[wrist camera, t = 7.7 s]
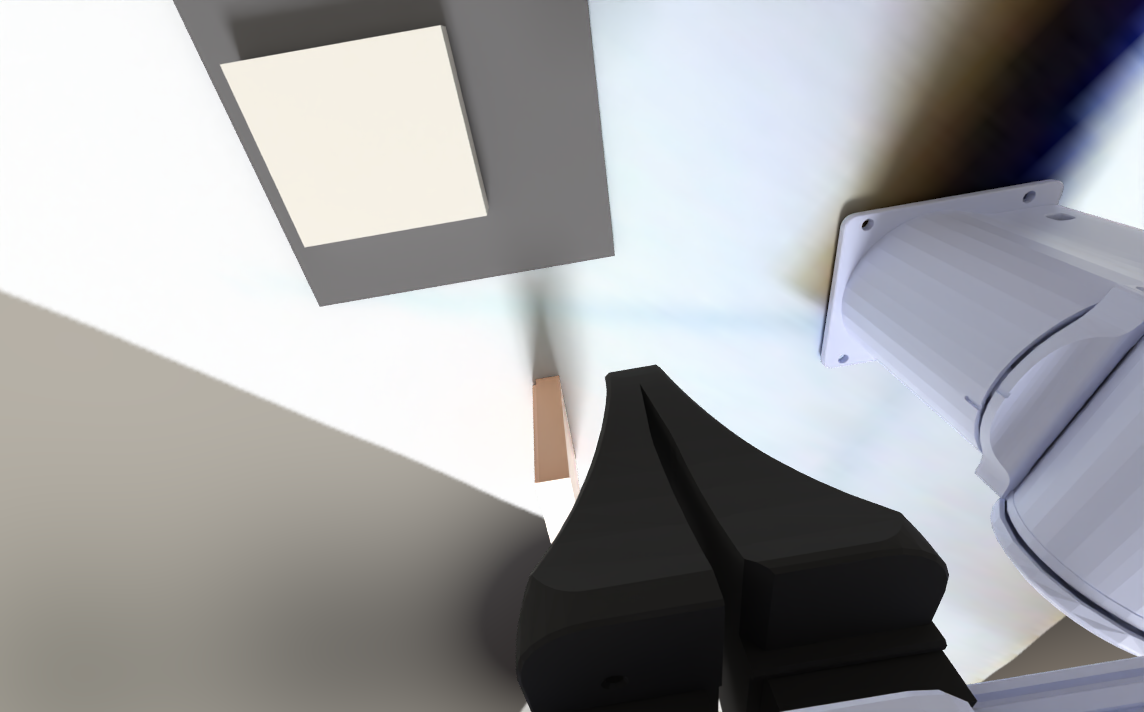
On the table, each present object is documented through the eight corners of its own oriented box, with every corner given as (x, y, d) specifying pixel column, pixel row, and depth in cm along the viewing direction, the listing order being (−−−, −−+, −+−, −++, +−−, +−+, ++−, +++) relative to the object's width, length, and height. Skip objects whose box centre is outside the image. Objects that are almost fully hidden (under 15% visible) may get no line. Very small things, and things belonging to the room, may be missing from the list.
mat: (573, -117, 15) (574, -120, 15) (613, 252, 21) (614, 255, 21) (160, -42, 15) (151, -44, 15) (322, 302, 22) (320, 306, 21)
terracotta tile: (558, 375, 25) (569, 477, 19) (576, 460, 28) (589, 570, 22) (531, 379, 25) (533, 483, 19) (551, 464, 28) (558, 575, 22)
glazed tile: (440, 25, 15) (219, 64, 15) (487, 215, 18) (304, 247, 18) (446, 27, 16) (241, 63, 16) (489, 205, 20) (317, 235, 20)
